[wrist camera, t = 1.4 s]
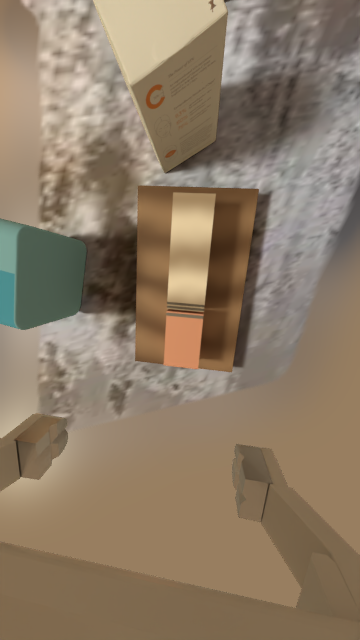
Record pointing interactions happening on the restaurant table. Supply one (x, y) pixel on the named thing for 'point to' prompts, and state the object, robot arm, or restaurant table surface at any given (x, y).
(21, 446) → the robot arm
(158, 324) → the board
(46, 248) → the data package
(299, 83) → the restaurant table surface
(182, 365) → the orange rectangular block
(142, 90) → the small box
